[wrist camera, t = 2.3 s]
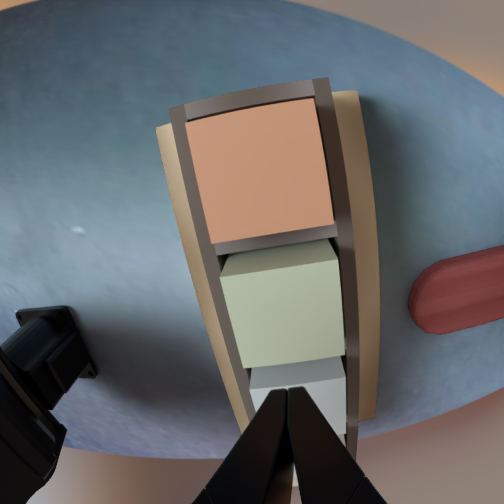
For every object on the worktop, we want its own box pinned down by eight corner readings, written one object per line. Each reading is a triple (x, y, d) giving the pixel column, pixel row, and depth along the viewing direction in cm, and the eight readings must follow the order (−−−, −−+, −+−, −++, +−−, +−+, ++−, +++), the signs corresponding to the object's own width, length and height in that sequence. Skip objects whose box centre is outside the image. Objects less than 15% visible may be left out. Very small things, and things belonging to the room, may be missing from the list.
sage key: (249, 328, 15) (243, 368, 12) (231, 249, 14) (219, 277, 11) (333, 315, 14) (344, 354, 11) (325, 233, 13) (337, 259, 10)
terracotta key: (225, 222, 13) (211, 244, 10) (205, 127, 12) (184, 123, 9) (321, 206, 13) (333, 224, 10) (304, 108, 11) (313, 98, 9)
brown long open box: (243, 421, 22) (236, 476, 17) (165, 128, 16) (118, 124, 11) (371, 404, 21) (386, 458, 16) (350, 94, 15) (383, 73, 9)
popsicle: (557, 299, 16) (411, 345, 18) (547, 291, 18) (404, 332, 19) (568, 236, 14) (416, 270, 16) (556, 231, 16) (407, 260, 18)
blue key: (267, 402, 16) (264, 443, 14) (254, 348, 15) (249, 389, 12) (338, 393, 16) (345, 433, 13) (335, 336, 15) (345, 376, 12)
